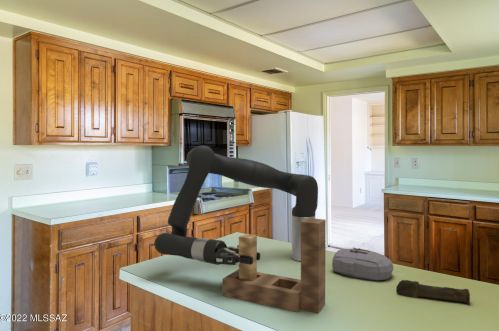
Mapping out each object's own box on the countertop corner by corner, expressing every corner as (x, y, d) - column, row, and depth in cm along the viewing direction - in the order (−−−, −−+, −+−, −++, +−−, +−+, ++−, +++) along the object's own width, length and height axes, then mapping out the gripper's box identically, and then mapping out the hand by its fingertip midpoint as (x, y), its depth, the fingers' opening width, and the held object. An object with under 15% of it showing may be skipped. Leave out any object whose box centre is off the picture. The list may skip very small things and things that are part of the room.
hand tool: (467, 300, 103) (468, 284, 102) (470, 306, 99) (470, 290, 99) (396, 291, 110) (396, 276, 110) (396, 296, 106) (396, 280, 106)
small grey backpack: (327, 274, 125) (387, 286, 113) (327, 250, 124) (387, 260, 113) (343, 262, 137) (398, 272, 126) (343, 241, 137) (398, 249, 125)
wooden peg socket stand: (222, 295, 107) (221, 215, 106) (239, 283, 116) (238, 210, 115) (316, 316, 93) (316, 225, 92) (327, 301, 102) (327, 218, 101)
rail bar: (238, 286, 108) (238, 236, 107) (245, 281, 111) (245, 233, 110) (250, 288, 106) (250, 238, 105) (256, 284, 109) (256, 235, 108)
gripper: (195, 244, 108) (244, 252, 100) (221, 234, 121) (266, 240, 113) (195, 268, 109) (244, 278, 101) (221, 256, 121) (266, 264, 113)
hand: (256, 258), depth 107 cm, fingers closed on rail bar, 4 cm apart
